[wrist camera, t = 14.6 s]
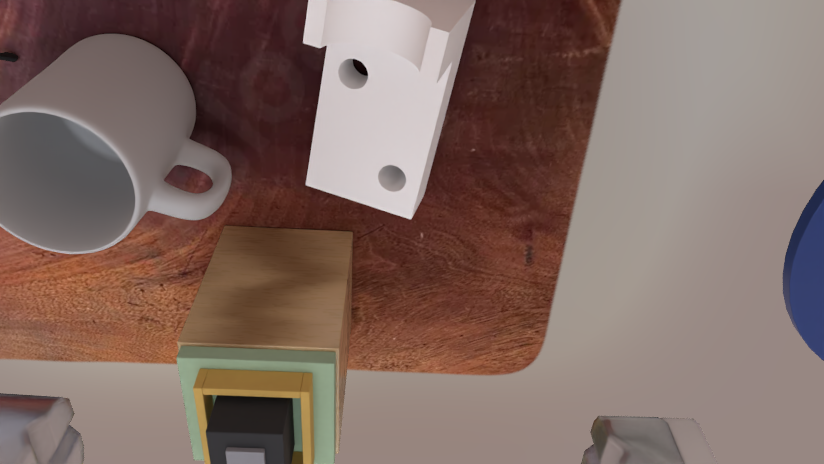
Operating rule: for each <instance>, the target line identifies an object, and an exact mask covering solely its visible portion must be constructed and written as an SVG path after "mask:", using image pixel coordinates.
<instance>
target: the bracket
mask: <svg viewBox="0 0 824 464" xmlns="http://www.w3.org/2000/svg"><path fill="white" fill-rule="evenodd" d="M475 1H476V0H308V8H307V15H306V23H305V30H304V38H303V43H304V44H308V45H311V46H314V47H317V48H322V47H324V46H327V49H326V55H325V62H324V68H323V75H322V81H321V88H320V94H319V101H318V107H317V114H316V120H315V127H314V133H313V140H312V146H311V153H310V159H309V166H308V172H307V179H306V185H307V186H310V187H313V188H316V189H319V190H322V191H325V192H328V193H331V194H334V195H337V196H340V197H343V198H346V199H349V200H353V201H356V202H359V203H362V204H365V205H368V206H371V207H374V208H377V209H380V210H383V211H386V212H389V213H392V214H395V215H398V216H402V217H405V218H408V219H412V217H413V215H414V213H415V211H416V209H417V208H418V206H419V204H420V202H421V200H422V198H423V196H424V193H425V190H426V186H427V182H428V178H429V175H430V171H431V167H432V163H433V159H434V156H435V152H436V148H437V144H438V141H439V137H440V133H441V129H442V126H443V122H444V118H445V114H446V110H447V107H448V103H449V99H450V95H451V92H452V88H453V84H454V80H455V77H456V73H457V69H458V65H459V61H460V58H461V54H462V50H463V46H464V43H465V39H466V35H467V31H468V28H469V24H470V20H471V16H472V12H473V9H474V5H475ZM353 59H356V60H359V61H360V62H362V63H363V64H364V66H365V67H366V69H367V72H368V76H365V75H362V74H360V73H359V72H358V71H357V70H356V69H355V67H354V65H353Z"/></svg>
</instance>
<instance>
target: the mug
mask: <svg viewBox="0 0 824 464" xmlns="http://www.w3.org/2000/svg"><path fill="white" fill-rule="evenodd" d="M195 120H196V103H195V98H194V94H193V91H192V88H191V85H190V83H189V81H188V79H187V77H186V76H185V74H184V73H183V71H182V70H181V69H180V67H179V66H178V65H177V64H176V63H175V62H174V61H173V60H172V59H171V58H170V57H169V56H168V55H167V54H166V53H164V52H163V51H162V50H160V49H159V48H157V47H156V46H154V45H152V44H150V43H148V42H146V41H144V40H142V39H139V38H136V37H133V36H129V35H124V34H101V35H95V36H91V37H88V38H86V39H83V40H81V41H79V42H78V43H76V44H75V45H73V46H72V47H70V48H69V49H68V50H66V51H65V52H64V53H63V54H62V55H61V56H60V57H59V58H58V59H56V60H55V61H54V62H53V63H52V64H51V65H49V66H48V67H47V68H46V69H44V70H43V71H42V72H41V73H39V74H38V75H37V76H36V77H34V78H33V79H32V80H31V81H29V82H28V83H27V84H26V85H24V86H23V87H22V88H21V89H19V90H18V91H17V92H16V93H14V94H13V95H12V96H11V97H9V98H8V99H7V100H6V101H4V102H3V103H2V104H1V105H0V226H1V227H2V228H4V229H5V230H6V231H8V232H9V233H11V234H12V235H14V236H16V237H17V238H19V239H21V240H23V241H25V242H27V243H29V244H31V245H34V246H36V247H39V248H42V249H46V250H49V251H53V252H59V253H67V254H85V253H93V252H97V251H101V250H104V249H106V248H109V247H111V246H113V245H115V244H116V243H118V242H120V241H121V240H122V239H123V238H125V237H126V236H127V235H128V234H129V233H130V232H131V230H132V229H133V228H134V227H135V226H136V224H137V223H138V222H139V220H140V219H141V218H142V217H143V215H144V214H145V213H146V212H147V211H155V212H159V213H162V214H166V215H169V216H173V217H176V218H181V219H186V220H200V219H204V218H206V217H208V216H210V215H211V214H212V213H214V212H215V211H216V210H217V209H218V208H219V207H220V206H221V204H222V203H223V201H224V199H225V198H226V196H227V194H228V191H229V188H230V184H231V178H232V174H231V167H230V164H229V162H228V161H227V159H226V158H225V157H224V156H222V155H221V154H220V153H218V152H216V151H215V150H213V149H211V148H209V147H206V146H204V145H202V144H200V143H197V142H195V141H193V140H191V139H189V138H190V136H191V133H192V131H193V129H194V125H195ZM175 165H185V166H189V167H192V168H195V169H198V170H200V171H202V172H204V173H206V174H207V175H209V177H210V178H211V179H212V181H213V186H212V188H211V189H210V190H208V191H207V192H204V193H198V194H196V193H190V192H186V191H183V190H180V189H178V188H176V187H174V186H172V185H170V184H168V183H167V182H165V181H164V179H165V177H166V176H167V175H168V173H169V172H170V171H171V169H172V168H173V167H174V166H175Z"/></svg>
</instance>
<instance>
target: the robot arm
mask: <svg viewBox="0 0 824 464" xmlns="http://www.w3.org/2000/svg"><path fill="white" fill-rule="evenodd" d="M73 416H74V411H73V408H72V406H71V403H70V400H69V399H68V398H63V397H48V396H33V395H17V394H1V393H0V464H83V461H84V447H83V446H84V445H83V441H82V438H81V434H80V433H79V432H78V431H76V430H75V429H74V428H73V427H71V426H70V425H69V423H70V421H71V420H72V418H73ZM591 435H592V439H593V443H594V444H593V445H592V446H591V447H590V448H588V449H586V450H585V452H584V455H583V459H582V463H581V464H718V463H717V461H716V459H715V457H714V455H713V452H712V450H711V448H710V446H709V444H708V442H707V440H706V438H705V436H704V433H703V431H702V429H701V427H700V425H699V424H698V423H697V422H696V421H695V420H694V419H684V418H658V417H624V416H623V417H622V416H598V417H597V419H596V420H595V421H594V423H593V426H592V429H591Z"/></svg>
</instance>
